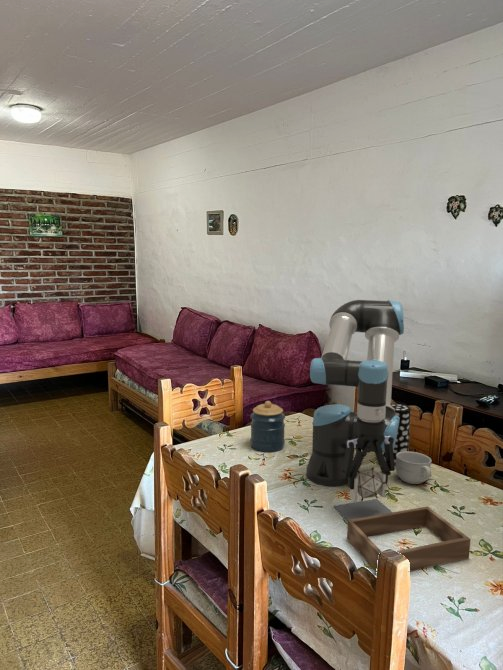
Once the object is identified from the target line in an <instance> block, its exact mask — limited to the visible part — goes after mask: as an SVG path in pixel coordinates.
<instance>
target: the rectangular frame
mask: <svg viewBox="0 0 503 670" xmlns="http://www.w3.org/2000/svg"><path fill="white" fill-rule="evenodd" d="M392 512H393V513H387V514H381V515H376V516H370V517H364V518H358V519H353V520H348V522H347V525H346V527H347V529H346V539H347V541H349V543H350V544H351V546H353V548H355V550H356V551H357V552H358V553H359V554H360V555H361V557H363V559H365V560H366V562H367V563H368V564H369V566H371V568H373V570H375V572H376V568H377V560H378V555H379V553H381V552H383V551H382V550H381V549H380V548H379V547H378V546H377V545H376V543H374V542H373V540H371V539H370V538H371V537H375V536H376V537H377V536H380V535H385V534H386V535H387V534H391V533H397V532H401V531H406V530H413V529H416V528H417V529H418V528H423V527H426V528H427V529H429V530H430V532H432V533H433V534H434V535H436V536H437V537H438V538H439V539H440V540H442V541H439V542H436V543H430V544H425V545H420V546H416V547H415V546H414V547H411V548H410V547H409V548H405V549H401V550H397V552H399V553H401V554H402V555H404V556H405V557H406V558H407V559H408V560H409V562H410V570H411V571H410V572H412V571H417V570H423V569H425V568H431V567H434V566H440V565H444V564H448V563H454V562H457V561H458V562H460V561H462V560H467V559H469V558H470V551H471V550H470V549H471V538H470V537H469V536H468V535H466V534H464V533H463V532H462V531H461V530H459V528H457V527H456V526H454V524H453V525H452V523H450V522H449V521H448V520H447V519H445V518H444V517H442V516H441V515H440V514H438V513H437V512H436V511H435V510H433V509H432V508H430V507H429V506H422V507H416V508H411V509H410V508H409V509H404V510H400V511H399V510H398V511H392Z"/></svg>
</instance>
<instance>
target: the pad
mask: <svg viewBox="0 0 503 670" xmlns="http://www.w3.org/2000/svg"><path fill="white" fill-rule="evenodd" d="M333 508H334V509H335V510H336V511H337V512H338V513H339V514H340V516H341V517H342V518H343V519H344V520H345V521H346V522H347V523H348V520H353V519H358V518H364V517H370V516H376V515H381V514H387V513H393V512H394V511H392V510H391V509H390V508H388V507H387V506H386V505H385V504H384V503H382V501H380V500H379V498H378V499H377V498H373V499H367V500H363V501H362V502H361V500H360V501H357V502H354V501H353V502H348V503H343V504H342V503H341V504H337V505H336V504H335V505H333Z"/></svg>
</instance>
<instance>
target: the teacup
mask: <svg viewBox="0 0 503 670" xmlns="http://www.w3.org/2000/svg"><path fill="white" fill-rule="evenodd" d="M431 465H432V458H431V457H429V456H427V455H426V454H423V453H421V452H417V451H403V452H399V453H397V454H396V467H395V473H396V475H397V476H398V478H400V479H401V481H403V482H405V483H407V484H411V485H412V484H413V485H420V484H422V483H424V482H425V481H427V480H429V479H430V478H431V477H432V470H431Z"/></svg>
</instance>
